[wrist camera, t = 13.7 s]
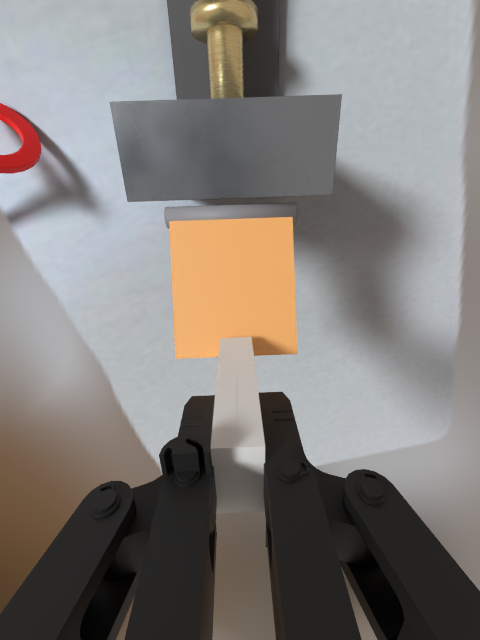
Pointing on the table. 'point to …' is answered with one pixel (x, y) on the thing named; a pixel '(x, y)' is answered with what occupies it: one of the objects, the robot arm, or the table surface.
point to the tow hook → (29, 149)
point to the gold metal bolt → (224, 41)
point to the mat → (194, 54)
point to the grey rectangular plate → (227, 147)
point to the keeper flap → (233, 277)
